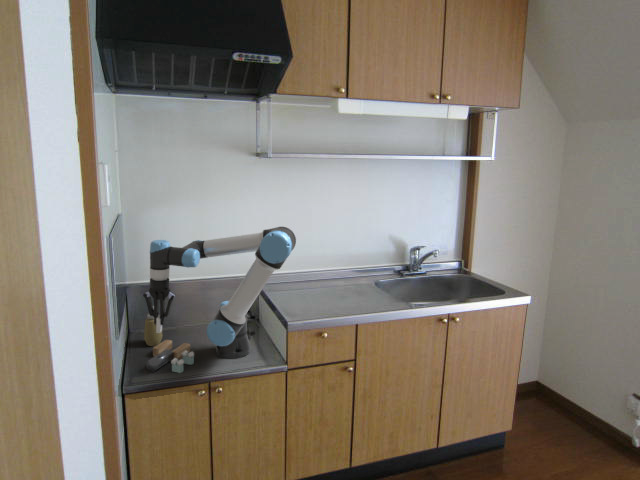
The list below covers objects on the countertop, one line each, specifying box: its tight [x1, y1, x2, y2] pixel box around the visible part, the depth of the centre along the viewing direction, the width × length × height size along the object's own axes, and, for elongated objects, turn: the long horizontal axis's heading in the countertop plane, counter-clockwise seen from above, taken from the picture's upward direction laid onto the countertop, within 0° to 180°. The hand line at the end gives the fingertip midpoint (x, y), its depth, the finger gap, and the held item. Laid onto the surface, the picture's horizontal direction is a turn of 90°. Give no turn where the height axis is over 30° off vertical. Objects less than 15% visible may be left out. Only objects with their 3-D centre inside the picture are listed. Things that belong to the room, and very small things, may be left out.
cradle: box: [170, 350, 195, 374], centre depth 183 cm, size 10×5×5 cm, turn 163°
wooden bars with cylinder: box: [152, 339, 191, 361], centre depth 195 cm, size 12×10×4 cm
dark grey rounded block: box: [145, 349, 174, 373], centre depth 184 cm, size 11×5×5 cm
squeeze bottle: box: [143, 305, 163, 347], centre depth 202 cm, size 8×8×18 cm
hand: (159, 331), depth 187 cm, fingers closed
